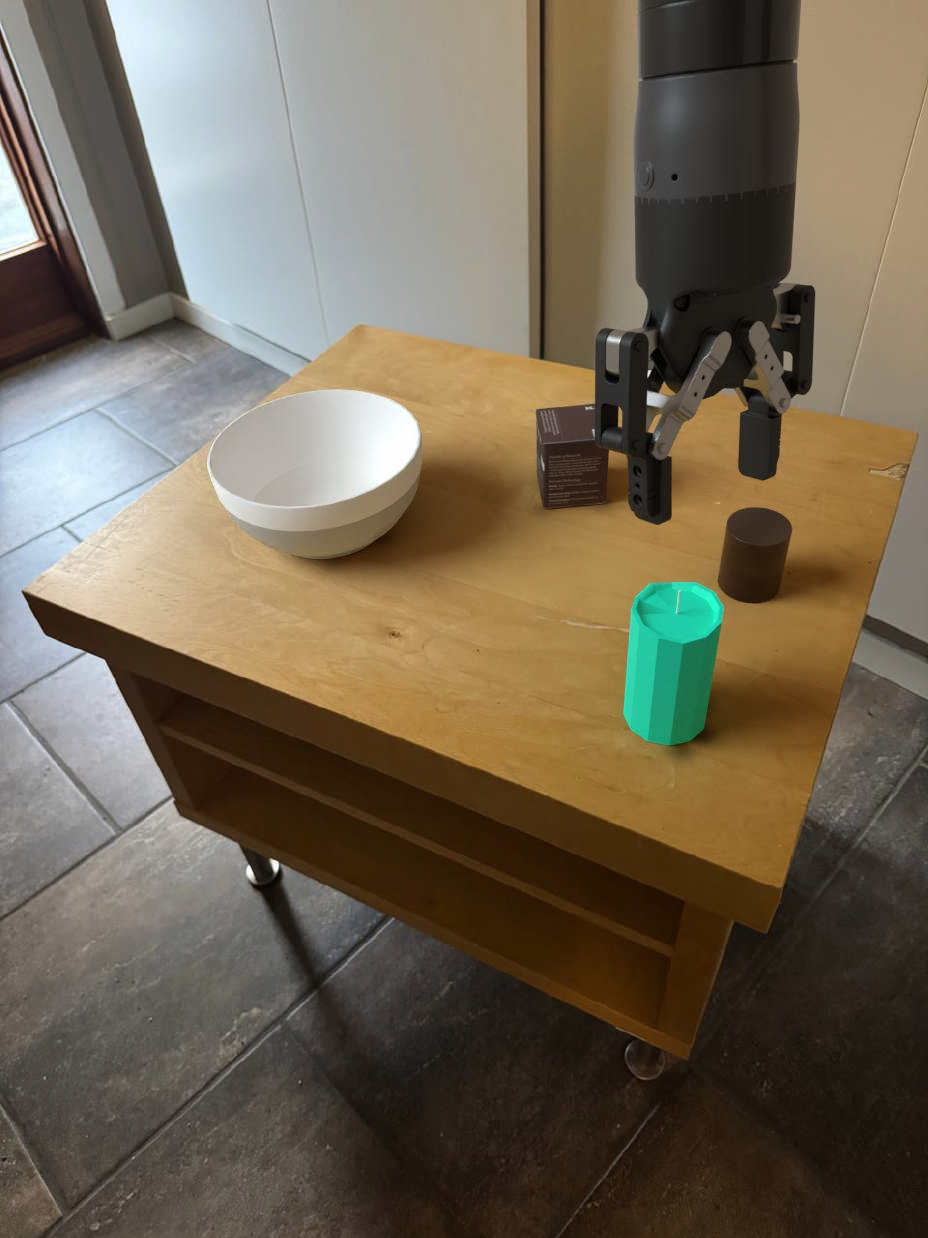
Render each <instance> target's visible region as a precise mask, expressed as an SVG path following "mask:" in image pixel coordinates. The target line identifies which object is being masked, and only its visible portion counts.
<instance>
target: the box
mask: <svg viewBox="0 0 928 1238" xmlns="http://www.w3.org/2000/svg"><path fill="white" fill-rule="evenodd" d="M535 416H536V417H535V426H536V427H535V428H536V429H535V431H536V433H535V434H536V444H535V445H536V477H537V482H538V483H537V484H538V489H539V494H540V498H541V502H542V507H543V508H544V509H546V510H549V509H550V510H551V509H560V508H568V507H577V506H578V507H579V506H591V505H603V504H606V503H607V496H608V495H607V493H608V491H607V490H608V477H609V475H608V474H609V459H610V450H607V449H604V448H600V447H598V446H597V445H596V443H595V403H586V404H578V405H577V404H576V405H567V406H556V407H555V406H554V407H542V408H536V409H535Z"/></svg>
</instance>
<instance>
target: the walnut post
mask: <svg viewBox="0 0 928 1238" xmlns="http://www.w3.org/2000/svg"><path fill="white" fill-rule="evenodd" d="M792 534H793V525H792V523H791V522H790V520H789V519H788V518H787V517H786V516H785V515H784V514H782V513H780V512H778V511H777V510H774V509H772V508H771V509H770V508H767V507H760V506H751V507H744V508H741V509H738V510H736V511H734V512H733V513H732V514H730V515H729V517H728V518H727V520H726V525H725V532H724V537H723V542H722V543H723V544H722V550H721V557H720V563H719V570H718V575H717V585H718V586H719V588H720V590H721V591H722V592H723V594H724V595H726V596H728V597H729V598H731V599H733V600H735V601H738V602H742V603H746V604H759V603H764V602H766V601H770V600H771V599H773V598H775V597H776V596H777V595H778V593H779V591H780V589H781V584H782V579H783V575H784V571H785V566H786V562H787V557H788V553H789V552H788V551H789V547H790V543H791V538H792Z"/></svg>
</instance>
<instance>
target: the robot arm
mask: <svg viewBox="0 0 928 1238" xmlns="http://www.w3.org/2000/svg"><path fill="white" fill-rule="evenodd" d="M636 3H637V4H636V5H637V7H636V9H637V15H636V16H637V78H638V79H639V81H638V83H637V99H636V109H635V110H636V111H635V118H634V127H633V128H634V129H633V184H634V185H633V186H634V188H633V189H634V192H633V193H634V195H633V197H634V199H633V202H634V260H635V261H634V262H635V263H634V265H635V268H634V270H635V281H636V284H637V285H638V287H639V288H640V289H641V290H642V291H643V293H644V295H645V298H646V301H647V309H646V314H645V317H644V320H643V323H642V327H637V328H633V329H632V328H631V329H628V330H624V329H616V328H610V327H604V328H601V329H600V330H599V331H598V333H597V334H596V337H595V343H594V344H595V346H594V347H595V351H594V354H595V355H594V356H595V357H594V404H595V443H596V445H597V446H598V447H600V448H604V449H607V450H609V451H611V452H614V453H617V454H621V455H624V456H626V460H627V485H628V486H627V491H628V494H627V495H628V496H627V498H628V502H627V503H628V505H629V509H630V511H631V512H632V513H633V515H634V516H635V517H636V518H637V519H639V520H641V521H644V522H646V523H650V524H653V525H655V526H659V525H663V524H664V523H667V522H669V521H670V520H671V519H672V516H673V493H672V492H673V456H670V455H669V454H670V452H671V450H672V447H673V445H674V444H675V441H676V440H677V437H678V435H679V432H680V430H681V428H682V426H683V424H684V423H686V422H689V421H690V420H692V419H693V418H694V417H695V415H696V414H697V412H698V409H699V407H700V405H701V404H702V400H707V399H709V398H712V397H714V396H716V395H717V394H718V393H720V392H721V391H722V390H724V389H726V390H727V389H728V390H729V389H730V390H731V389H732V390H734V392H735V393H736V395H737V397H738V398H739V400H740V402H741V403H742V405H743V406H744V407H746V408H747V409H746V410H743V411H740V412H739V430H738V458H737V470H738V472H739V473H740V474H741V475H742V476H745V477H747V478H751V479H754V480H758V481H761V482H762V481H763V482H764V481H767V480H769V479H771V478H774V477H775V476H776V474H777V471H778V462H779V459H780V452H781V451H780V450H781V447H780V446H781V436H782V419H783V418H782V417H783V414H785V413H786V412H788V410H789V408H790V406H791V402H792V399H793V398H794V397H795V396H797V395H800V396H805V395H807V394H808V393H809V392H810V390H811V388H812V386H813V372H814V371H813V370H814V369H813V368H814V366H813V365H814V343H815V342H814V341H815V339H814V338H815V318H816V317H815V316H816V315H815V314H816V313H815V311H816V289H815V287H814V286H813V285H811V284H801V283H794V282H782V281H783V280H785V279H786V278H787V277H788V275H789V274H790V272H791V269H792V257H793V242H794V225H795V209H796V208H795V207H796V194H797V175H798V162H799V161H798V159H799V145H800V144H799V142H800V123H801V121H800V119H801V118H800V117H801V113H800V97H799V83H798V63H797V62H794V61H797V60H798V59H799V44H800V27H801V12H802V11H801V10H802V8H801V7H802V0H637V2H636ZM785 352H786V353H789V354H790V355H791V370H787V369H784V362H785V361H784V360H785V359H784V358H785ZM664 383H665V385H666V387H667V388H668V389H669V390H670V391H671V392H673V393H674V394H673V395H669V394H664V393H661V389H662V387H663V385H664ZM619 409H620V410H621V426H619ZM658 415H661V416H660V418H659V419H658V422H657V423H656V426H655V428H654V431H653V432H650V431H649V430H650V428H651V426H652V424H653V421H654V419H655V418H656V417H657V416H658Z"/></svg>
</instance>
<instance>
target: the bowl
mask: <svg viewBox="0 0 928 1238" xmlns="http://www.w3.org/2000/svg"><path fill="white" fill-rule="evenodd" d="M421 430H422V429H421V426H420V423H419V422H418V421H417V419H416V418H415V416H414V415H413V413H412V412H411V411H409V409H407V408H406V407H405V406H404V405H403V404H401V403H399V402H397V401H395V400H393V399H391V398H389V397H386V396H383V395H380V394H378V393H374V392H368V391H362V390H357V389H356V390H355V389H340V388H339V389H338V388H337V389H335V388H334V389H317V390H312V391H304V392H298V393H295V394H291V395H285V396H281V397H279V398H275V399H273V400H271V401H268V402H265V403H262V404H260V405H258V406H256V407H254V408H252V409H249V410H248V411H245V412H244V413H243V414H241V415H240V416H239V417H237V418H235V419H233V420H232V421H231V422H230V423H228V424H227V426H226V427H224V428H223V429H222V430H221V431H220V432H219V434H218V435H217V436H216V438H215V439H214V441H212V444H211V447H210V449H209V451H208V453H207V462H206V463H207V464H206V468H207V472H208V475H209V479H210V480H211V483H212V485H213V488H214V490H215V492H216V496H217V498H218V500H219V502H220V503H221V504H222V505H223V507H224V509H225V510H226V511H227V513H228V515H229V516H230V518H231V519H232V520H233V522H234V523H235V524H236V526H237V527H238V528H239V529H240V530H242V531H243V532H244V533H245V534H247V535H248V536H249V537H251V538H253V539H254V540H255V541H258V542H259V543H261V544H262V545H264V546H266V547H268V548H270V549H272V550H274V551H276V552H280V553H283V554H287V555H292V556H297V557H301V558H304V559H310V560H311V559H312V560H330V559H337V558H342V557H345V556H349V555H352V554H354V553H356V552H359V551H361V550H363V549H365V548H367V547H368V546H370V545H371V544H373V543H374V542H375V541H376V540H377V539H379V538H381V537H382V536H384V535H385V534H387V533H388V532H389V531H390V530H391V529H392V528H393V527H395V525H396V524H397V523H398V522H399V521H400V519H401V518H402V516H403V515H404V513H405V512H406V510H407V509H408V508H409V506H410V505H411V503H412V502H413V500H414V498H415V495H416V493H417V491H418V487H419V482H420V475H421V469H422V466H423V465H422V463H423V435H422V431H421Z"/></svg>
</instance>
